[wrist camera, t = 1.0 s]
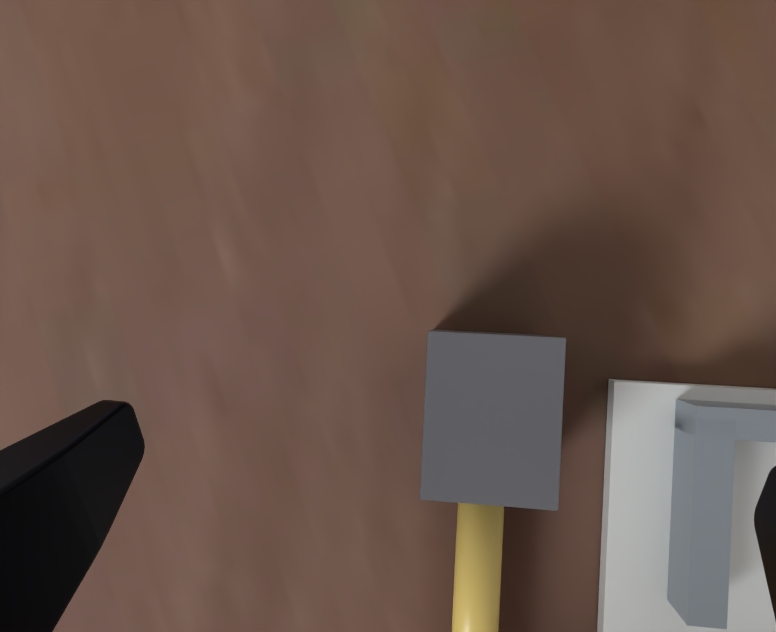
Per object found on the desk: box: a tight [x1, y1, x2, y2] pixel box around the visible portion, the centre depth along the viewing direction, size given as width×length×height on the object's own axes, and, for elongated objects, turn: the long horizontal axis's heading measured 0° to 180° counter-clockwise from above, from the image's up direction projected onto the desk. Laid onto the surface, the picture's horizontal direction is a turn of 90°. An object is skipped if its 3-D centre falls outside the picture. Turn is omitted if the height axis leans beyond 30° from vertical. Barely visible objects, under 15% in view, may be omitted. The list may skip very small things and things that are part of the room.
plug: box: [420, 329, 566, 632], centre depth 20 cm, size 16×4×5 cm, turn 177°
